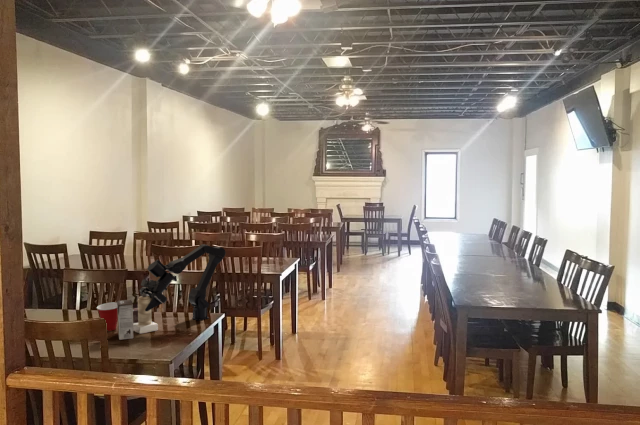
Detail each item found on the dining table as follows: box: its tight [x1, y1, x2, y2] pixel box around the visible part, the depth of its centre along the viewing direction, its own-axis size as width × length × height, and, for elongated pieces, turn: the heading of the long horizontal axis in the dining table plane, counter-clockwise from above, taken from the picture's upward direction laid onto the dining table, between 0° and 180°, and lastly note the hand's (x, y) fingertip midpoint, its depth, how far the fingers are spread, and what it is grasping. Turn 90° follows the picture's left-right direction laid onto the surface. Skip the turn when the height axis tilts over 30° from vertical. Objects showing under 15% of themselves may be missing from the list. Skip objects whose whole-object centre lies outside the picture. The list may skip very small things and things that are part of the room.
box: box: [133, 307, 138, 323], centre depth 266 cm, size 6×6×7 cm
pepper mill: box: [137, 293, 153, 325], centre depth 254 cm, size 6×6×15 cm
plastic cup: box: [96, 302, 118, 332], centre depth 255 cm, size 11×11×12 cm
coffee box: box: [116, 299, 134, 341], centre depth 243 cm, size 9×6×16 cm
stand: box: [133, 320, 159, 334], centre depth 254 cm, size 9×9×3 cm
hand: (141, 309), depth 253 cm, fingers open, 9 cm apart
